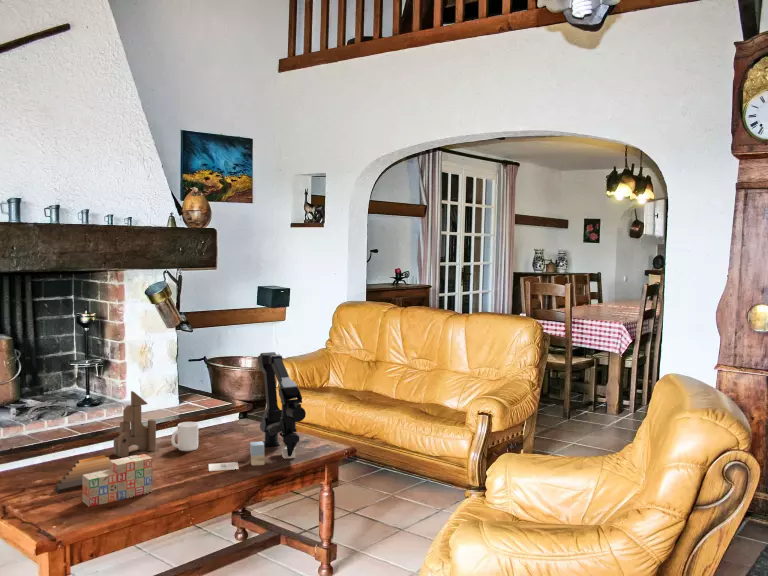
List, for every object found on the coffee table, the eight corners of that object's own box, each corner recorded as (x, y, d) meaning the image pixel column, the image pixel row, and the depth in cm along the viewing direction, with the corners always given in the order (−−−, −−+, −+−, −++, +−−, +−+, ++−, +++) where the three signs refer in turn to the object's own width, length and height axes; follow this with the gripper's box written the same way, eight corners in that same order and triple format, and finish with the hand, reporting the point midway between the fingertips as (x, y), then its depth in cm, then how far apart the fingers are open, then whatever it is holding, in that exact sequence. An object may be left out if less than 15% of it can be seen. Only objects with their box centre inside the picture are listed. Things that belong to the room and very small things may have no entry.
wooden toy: (120, 458, 271) (119, 395, 270) (113, 454, 276) (113, 393, 275) (157, 450, 282) (157, 390, 280) (150, 446, 287) (150, 388, 285)
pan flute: (59, 495, 232) (130, 478, 250) (58, 485, 232) (130, 469, 250) (34, 476, 250) (103, 462, 268) (34, 467, 250) (102, 453, 267)
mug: (176, 454, 277) (176, 429, 276) (165, 450, 282) (165, 425, 282) (202, 448, 286) (202, 424, 285) (190, 444, 291) (190, 420, 291)
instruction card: (208, 464, 265) (208, 463, 265) (237, 462, 268) (237, 462, 268) (208, 471, 258) (208, 470, 258) (238, 469, 261) (238, 468, 261)
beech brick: (250, 461, 270) (250, 451, 270) (263, 461, 271) (263, 451, 271) (251, 465, 265) (251, 455, 265) (264, 465, 267) (264, 455, 266)
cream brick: (281, 455, 279) (281, 445, 279) (294, 454, 281) (294, 444, 280) (282, 458, 275) (282, 449, 274) (295, 458, 276) (295, 448, 275)
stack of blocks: (88, 507, 221) (88, 470, 220) (82, 502, 226) (81, 465, 225) (152, 492, 236) (152, 457, 235) (145, 487, 240) (145, 453, 239)
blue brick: (250, 452, 270) (250, 442, 269) (262, 451, 271) (263, 441, 271) (251, 455, 265) (251, 445, 265) (264, 455, 266) (264, 444, 266)
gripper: (266, 411, 283) (266, 448, 284) (271, 422, 265) (270, 462, 266) (293, 409, 286) (292, 446, 287) (299, 421, 268) (299, 460, 269)
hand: (288, 453), depth 278 cm, fingers open, 6 cm apart
